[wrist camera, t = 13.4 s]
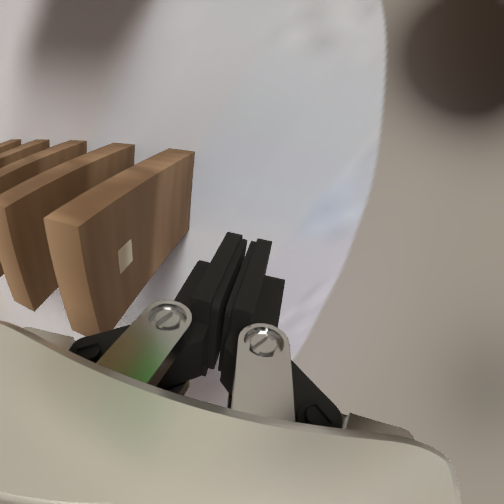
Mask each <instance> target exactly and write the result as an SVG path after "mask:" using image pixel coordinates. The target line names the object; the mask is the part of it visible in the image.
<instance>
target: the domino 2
mask: <svg viewBox="0 0 504 504" xmlns="http://www.w3.org/2000/svg"><path fill="white" fill-rule="evenodd" d="M47 148H49V140H34V141H31V142H28V143H26V144H23V145H20V146H18V147H15V148H13V149H10V150H8V151H5V152H3V153H0V168H2V167H4V166H7V165H9V164H11V163H13V162H16V161H18V160H20V159H23V158H25V157H27V156H30V155H32V154H35V153H37V152H40V151H42V150H45V149H47Z"/></svg>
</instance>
